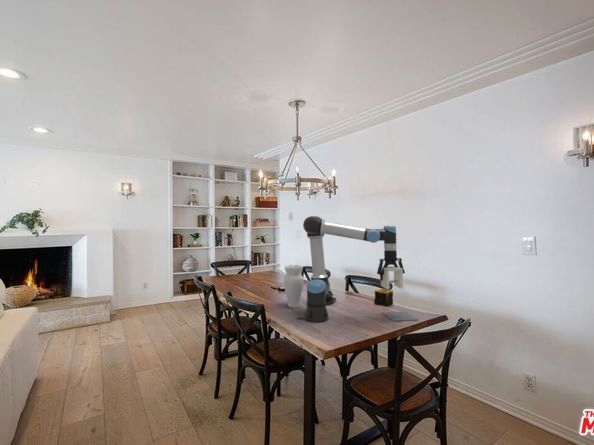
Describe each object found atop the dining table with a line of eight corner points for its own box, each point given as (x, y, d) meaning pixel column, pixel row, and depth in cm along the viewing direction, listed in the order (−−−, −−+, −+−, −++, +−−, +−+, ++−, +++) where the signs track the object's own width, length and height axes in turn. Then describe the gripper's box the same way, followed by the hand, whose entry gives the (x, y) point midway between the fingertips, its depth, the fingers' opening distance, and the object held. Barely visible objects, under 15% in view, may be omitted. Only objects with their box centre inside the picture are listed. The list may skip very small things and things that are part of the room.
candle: (374, 304, 219) (373, 290, 219) (380, 301, 226) (380, 288, 226) (387, 307, 212) (386, 293, 212) (393, 304, 219) (393, 290, 219)
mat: (393, 321, 181) (393, 320, 181) (382, 313, 197) (382, 312, 197) (418, 320, 183) (418, 319, 183) (405, 312, 199) (405, 311, 199)
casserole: (319, 308, 209) (319, 296, 209) (301, 303, 223) (301, 292, 223) (342, 302, 226) (342, 291, 226) (324, 297, 240) (324, 287, 240)
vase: (279, 306, 216) (279, 266, 216) (294, 302, 226) (294, 263, 226) (292, 310, 205) (292, 268, 205) (308, 306, 215) (307, 266, 215)
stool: (403, 288, 184) (395, 285, 194) (402, 268, 184) (395, 266, 194) (387, 289, 182) (381, 285, 192) (387, 269, 183) (380, 266, 192)
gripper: (375, 251, 184) (376, 287, 184) (410, 249, 187) (410, 285, 187) (371, 250, 191) (371, 284, 191) (404, 248, 194) (405, 283, 194)
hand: (391, 285), depth 189 cm, fingers closed on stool, 10 cm apart
